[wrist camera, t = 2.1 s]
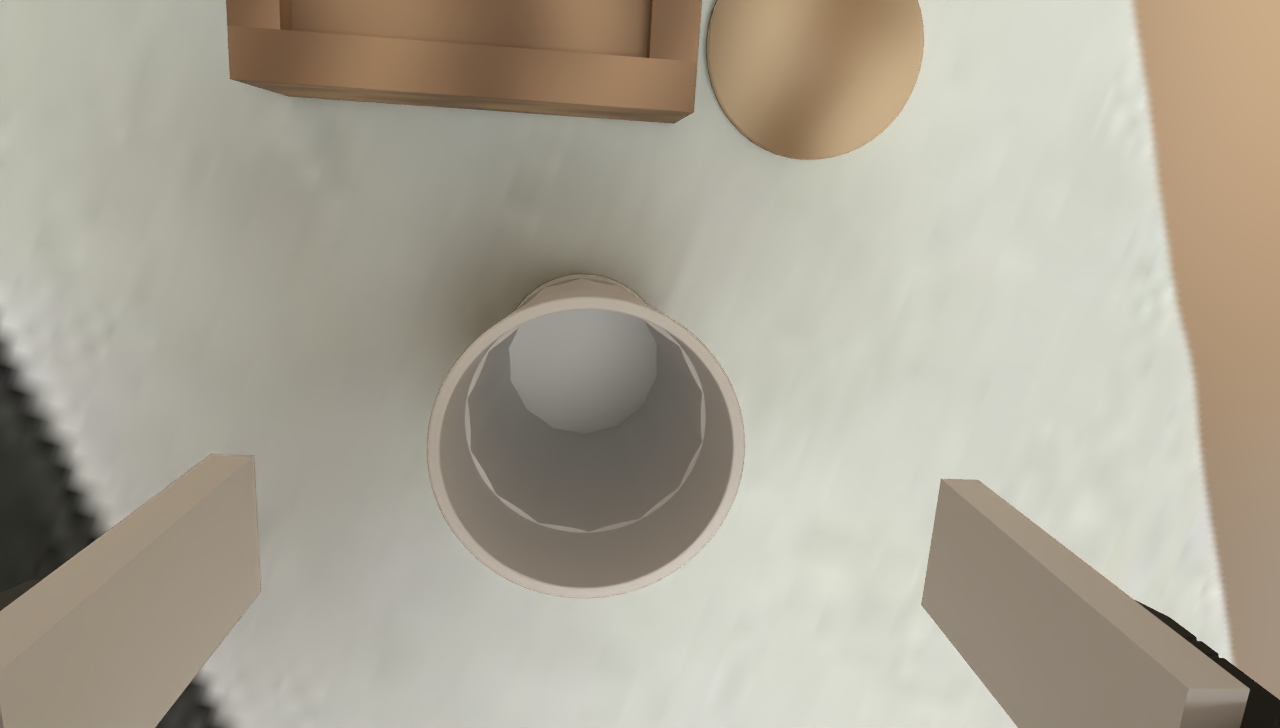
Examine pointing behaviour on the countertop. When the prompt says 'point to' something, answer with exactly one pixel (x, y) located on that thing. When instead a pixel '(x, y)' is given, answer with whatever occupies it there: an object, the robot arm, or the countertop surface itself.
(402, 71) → the wooden tray
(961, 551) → the robot arm
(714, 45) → the coaster
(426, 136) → the countertop surface
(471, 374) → the cup
